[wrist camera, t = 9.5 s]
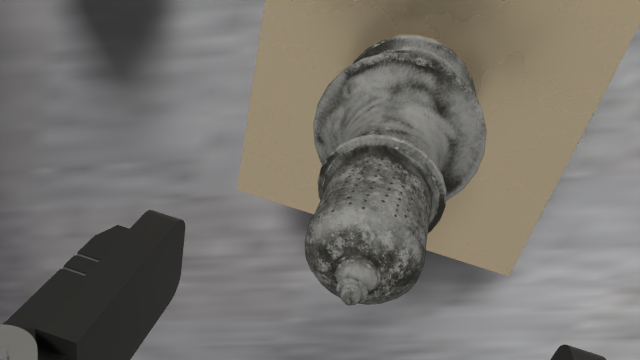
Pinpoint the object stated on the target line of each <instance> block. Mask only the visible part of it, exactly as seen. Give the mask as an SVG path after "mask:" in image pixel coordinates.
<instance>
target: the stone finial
mask: <svg viewBox="0 0 640 360" xmlns="http://www.w3.org/2000/svg"><path fill="white" fill-rule="evenodd" d="M476 97H477V96H476V91H475V86H474V81H473V78H472V76H471V74H470V72H469V70H468V68H467V66H466V64H465V63H464V62H463V61H462V60H461V59H460V58H459V56H458V55H457V54H456V53H455V52H454V51H453V50H452V49H450V48H448V47H446V46H445V45H443V44H441V43H440V42H438V41H436V40H433V39H429V38H425V37H422V36H417V35H399V36H395V37H392V38H388V39H384V40H381V41H379V42H377V43H376V44H374V45H372V46H371V47H369V48H367V49H366V50H365V51H364V52H363V53H362V54H361V55H360V56H359V57H358V58H357V59H356V60H355V61H354V62H353V64H352V65H350V66H349V67H347V68H345V69H343V70H342V71H341V72H340V73H339V74H338V75H337V76H336V77H335V78H334V79H333V81H332V82H331V83H330V84H329V85H328V86H327V88H326V89H325V91H324V93H323V95H322V97H321V99H320V100H319V102H318V104H317V109H316V113H315V118H314V122H313V130H314V144H315V147H316V150H317V153H318V156H319V159H320V162H321V164H322V167H321V170H320V174H319V178H318V195H319V199H320V203H319V205H318V207H317V209H316V211H315V213H314V216H313V218H312V220H311V222H310V224H309V226H308V230H307V234H306V238H305V254H306V259H307V262H308V264H309V267H310V269H311V271H312V272H313V274H314V275H315V276H316V278H317V279H318V280H319V282H320V283H321V284H322V285H323V286H324V287H325V288H326V289H328V290H329V291H330V292H331V293H333V294H335V295H336V296H338V297H340V298H341V299H342V301H344V302H345V304H347V305H355V304H357V303H359V304H367V305H369V304H381V303H384V302H387V301H390V300H393V299H397V298H398V297H400V296H402V295H403V294H405V293H406V292H408V291H409V290H410V289H411V287H412V286H413V285H414V284H415V283H416V281H417V279H418V277H419V275H420V273H421V270H422V268H423V265H424V260H425V252H426V244H427V236H428V233H429V232H431V231H432V230H433V228H434V227H435V226H436V225H437V223H438V222H439V221H440V219H441V217H442V214H443V212H444V209H445V207H446V201H448V200H449V199H450V198H452V197H453V196H454V195H456V194H457V193H459V192H460V191H461V190H463V189H464V188H465V186H466V185H467V184H468V183H469V181H470V180H471V179H472V178H473V177H474V175H475V174H476V173H477V170H478V168H479V166H480V163H481V161H482V158H483V156H484V154H485V145H486V135H487V130H486V125H485V120H484V114H483V109H482V107H481V105H480V104H479V102H478V100H477V98H476Z"/></svg>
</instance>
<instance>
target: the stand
mask: <svg viewBox="0 0 640 360" xmlns="http://www.w3.org/2000/svg"><path fill="white" fill-rule="evenodd" d="M639 25H640V0H265V6H264V12H263V19H262V26H261V32H260V39H259V46H258V52H257V59H256V66H255V72H254V79H253V86H252V92H251V99H250V106H249V112H248V119H247V126H246V132H245V139H244V146H243V152H242V159H241V166H240V172H239V179H238V186H237V190H238V191H242V192H245V193H248V194H251V195H254V196H257V197H261V198H264V199H267V200H270V201H273V202H276V203H279V204H283V205H286V206H289V207H292V208H295V209H298V210H301V211H305V212H308V213H311V214H314V213H315V211H316V209H317V207H318V205H319V203H320V199H319V195H318V178H319V174H320V170H321V167H322V164H321V162H320V159H319V156H318V153H317V150H316V147H315V144H314V130H313V122H314V118H315V113H316V109H317V104H318V102H319V100H320V99H321V97H322V95H323V93H324V91H325V89H326V88H327V86H328V85H329V84H330V83H331V82H332V81H333V79H334V78H335V77H336V76H337V75H338V74H339V73H340V72H341V71H342V70H343V69H345V68H347V67H349V66H350V65H352V64H353V62H354V61H355V60H356V59H357V58H358V57H359V56H360V55H361V54H362V53H363V52H364V51H365V50H366V49H367V48H369V47H371V46H372V45H374V44H376V43H377V42H379V41H381V40H384V39H388V38H392V37H395V36H399V35H417V36H422V37H425V38H429V39H433V40H436V41H438V42H440V43H441V44H443V45H445V46H446V47H448V48H450V49H452V50H453V51H454V52H455V53H456V54H457V55H458V56H459V58H460V59H461V60H462V61H463V62H464V63H465V64H466V66H467V68H468V70H469V72H470V74H471V76H472V78H473V81H474V86H475V91H476V96H477V97H476V98H477V100H478V102H479V104H480V105H481V107H482V109H483V114H484V120H485V125H486V130H487V135H486V145H485V154H484V156H483V158H482V161H481V163H480V166H479V168H478V170H477V173H476V174H475V175H474V177H473V178H472V179H471V180H470V181H469V183H468V184H467V185H466V186H465V188H464V189H463V190H461V191H460V192H459V193H457V194H456V195H454V196H453V197H452V198H450V199H449V200H448V201H446V207H445V209H444V212H443V214H442V217H441V219H440V221H439V222H438V223H437V225H436V226H435V227H434V228H433V230H432V231H431V232H429V233H428V236H427V244H426V250H427V251H430V252H434V253H437V254H440V255H443V256H446V257H449V258H452V259H456V260H459V261H462V262H465V263H468V264H471V265H474V266H478V267H481V268H484V269H487V270H490V271H493V272H496V273H500V274H503V275H506V276H509V275H510V273H511V271H512V269H513V267H514V265H515V263H516V262H517V260H518V258H519V256H520V254H521V252H522V250H523V248H524V246H525V244H526V242H527V240H528V238H529V237H530V235H531V233H532V231H533V229H534V227H535V225H536V223H537V221H538V219H539V217H540V215H541V213H542V212H543V210H544V208H545V206H546V204H547V202H548V200H549V198H550V196H551V194H552V192H553V190H554V189H555V187H556V185H557V183H558V181H559V179H560V177H561V175H562V173H563V171H564V169H565V167H566V165H567V164H568V162H569V160H570V158H571V156H572V154H573V152H574V150H575V148H576V146H577V144H578V142H579V140H580V139H581V137H582V135H583V133H584V131H585V129H586V127H587V125H588V123H589V121H590V119H591V117H592V115H593V114H594V112H595V110H596V108H597V106H598V104H599V102H600V100H601V98H602V96H603V94H604V92H605V90H606V89H607V87H608V85H609V83H610V81H611V79H612V77H613V75H614V73H615V71H616V69H617V67H618V65H619V64H620V62H621V60H622V58H623V56H624V54H625V52H626V50H627V48H628V46H629V44H630V42H631V40H632V39H633V37H634V35H635V33H636V31H637V29H638V27H639Z"/></svg>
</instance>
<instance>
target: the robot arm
mask: <svg viewBox="0 0 640 360" xmlns="http://www.w3.org/2000/svg"><path fill="white" fill-rule="evenodd" d="M184 235H185V223H184V221H183V220H181V219H177V218H174V217H171V216H168V215H165V214H162V213H159V212H156V211H153V210H149V211H147V212H145V213H144V214H143V215H142V216H141V218H140V219H139V220H138V221H137V222H136V223H135V224H134V225H133V226H132V227H131V228H130V229H129V228H125V227H122V226H119V225H117V226H115V227H113V228H110V229H108V230H106V231H104V232H102V233H100V234H98V235H95V236H94V237H93V238H92V239H91V240H90V241H89V242H88V243H87V244H86V245H85V246H84V247H83V248H81V249H80V250H79V251H78V253H77V255H76V256H73V257H72V258H71V259H70V260H69V261H68V262H67V263H66V264H65V265H64V267H63V269H60V270H59V271H58V272H57V273H56V274H55V275H54V276H53V277H52V278H51V279H49V280H48V281H47V282H46V283H45V284H44V285H43V286H42V287H41V288H40V289H39V290H38V291H37V292H36V293H35V294H34V295H33V296H32V297H31V298H30V299H29V300H28V301H27V302H26V303H25V304H24V305H23V306H22V307H21V308H20V309H19V310H17V311H16V312H15V313H14V314H13V315H12V316H11V317H10V318H9V319H8V320H7V321H6V322H5V323H3V324H2V325H1V324H0V360H130V359H131V358H132V356H133V355H134V353H135V352H136V351H137V349H138V348H139V346H140V345H141V343H142V342H143V340H144V339H145V338H146V336H147V335H148V333H149V332H150V330H151V329H152V327H153V326H154V325H155V323H156V322H157V320H158V319H159V317H160V316H161V314H162V313H163V312H164V310H165V309H166V307H167V306H168V304H169V303H170V301H171V300H172V298H173V296H174V294H175V292H176V289H177V287H178V284H179V280H180V276H181V267H182V256H183V246H184ZM551 360H606V359H605V358H604V357H602V356H600V355H596V354H593V353H590V352H587V351H584V350H581V349H578V348H575V347H572V346H568V345H562V346H560V347H559V348H558V349H557V351H556V352H555V354H554V355H553V357H552V358H551Z"/></svg>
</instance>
